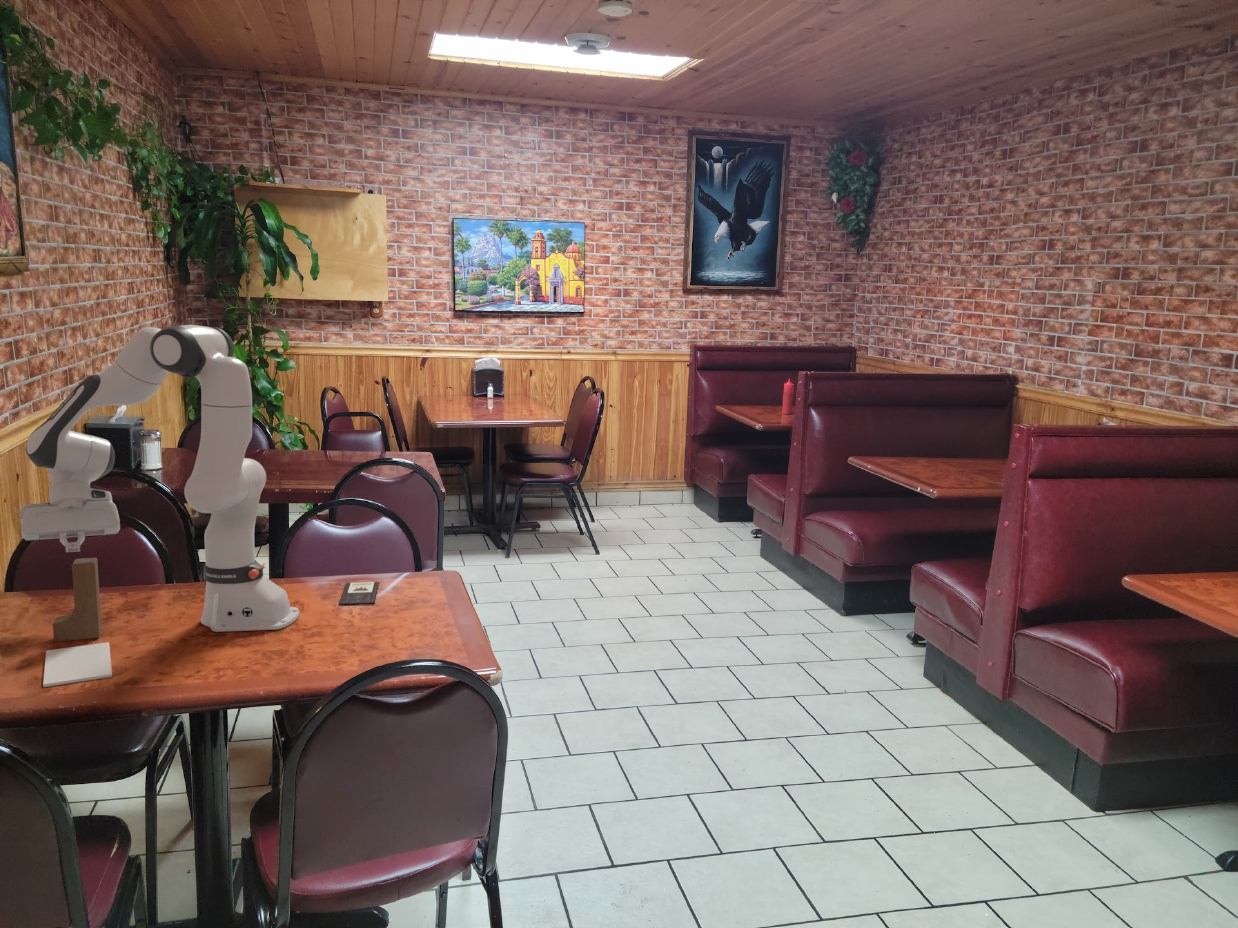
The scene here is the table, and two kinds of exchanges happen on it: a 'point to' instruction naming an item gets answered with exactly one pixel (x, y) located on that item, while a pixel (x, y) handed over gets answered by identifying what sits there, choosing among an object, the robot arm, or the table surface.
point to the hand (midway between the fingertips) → (72, 550)
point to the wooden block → (82, 605)
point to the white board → (77, 664)
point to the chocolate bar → (359, 593)
